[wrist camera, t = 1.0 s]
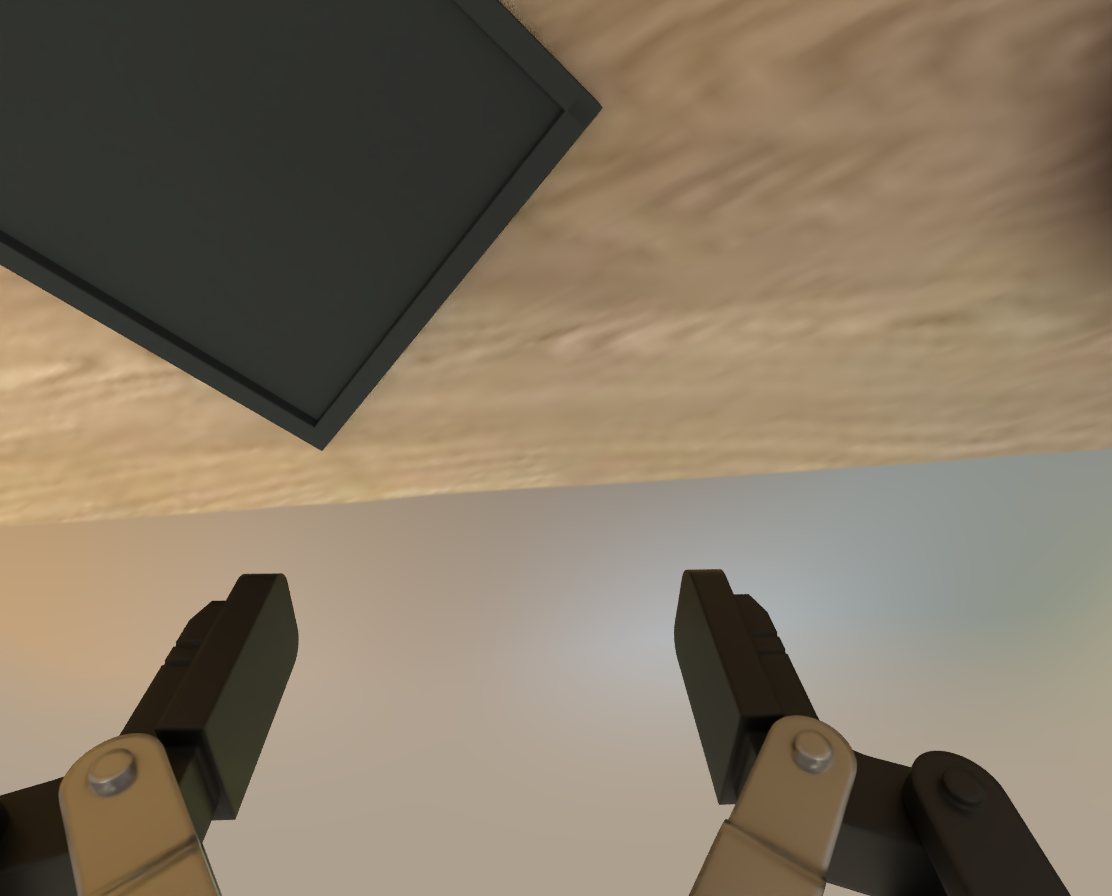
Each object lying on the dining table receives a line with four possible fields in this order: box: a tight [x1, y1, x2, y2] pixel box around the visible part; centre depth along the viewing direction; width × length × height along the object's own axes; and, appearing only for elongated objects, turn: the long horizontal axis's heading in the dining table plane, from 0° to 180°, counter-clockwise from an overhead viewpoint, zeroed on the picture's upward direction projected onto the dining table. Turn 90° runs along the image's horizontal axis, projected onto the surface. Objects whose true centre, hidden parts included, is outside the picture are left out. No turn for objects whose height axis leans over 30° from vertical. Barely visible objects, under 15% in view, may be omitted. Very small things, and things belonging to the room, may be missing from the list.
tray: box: [0, 0, 602, 451], centre depth 29 cm, size 26×24×1 cm
